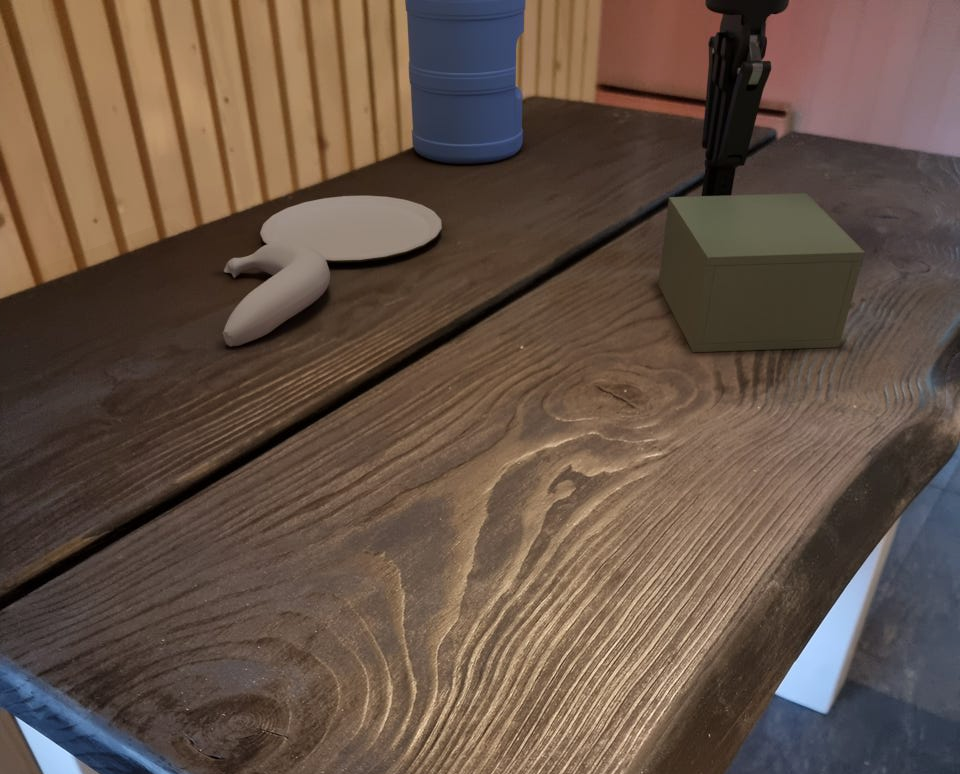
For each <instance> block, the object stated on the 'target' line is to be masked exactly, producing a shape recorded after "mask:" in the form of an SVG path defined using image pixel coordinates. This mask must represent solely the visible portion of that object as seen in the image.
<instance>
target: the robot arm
mask: <svg viewBox="0 0 960 774" xmlns="http://www.w3.org/2000/svg"><path fill="white" fill-rule="evenodd" d="M704 3H705V7H706V8H707V10H709V11H710V12H713V13H715V14H720V15H722V17H721V21H720V23H719V31H717V32H716V33H715V36H714V35H711V36H710V37H709V40H708V44H707V46H708V69H707V80H706V81H707V83H706V93H705V104H704V105H705V107H704V115H703V116H704V118H703V128H702V129H703V130H702V140H701V147H702V149H704V150H705V154H704V155H705V160H704V168H705V169H704V176H703V183H702V190H701V194H700V196H730V195H733V194H732V193H733V186H734V181H735V176H736V175H735V174H736V169H737V168H738V167H743V166H745V164H746V161H747V156H748V152H749V148H750V145H751V141H752V137H753V133H754V128H755V124H756V122H757V121H756V120H757V117H758V113H759V109H760V106H761V101H762V97H763V93H764V90H765V87H766V85H767V82H768V79H769V77H770V74H771V71H772V61H770V60H763V59H764V58H765V56H766V52H767V46H768V38H767V36H766V31H767V30H766V28H767V19H768V18H769V17H770V16H771V15H778V14H781V13H783V12H785V11H786V10H787V9H788V6H789V4H790V0H704Z"/></svg>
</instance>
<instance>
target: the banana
mask: <svg viewBox="0 0 960 774" xmlns="http://www.w3.org/2000/svg"><path fill="white" fill-rule="evenodd" d="M254 269H257V270H260V271H263V272H264V273H267V274H269V275H271V277H270V278H268V279H266V280H265V281H263V282H262V283H261V284H260V285H258V286H257V287H255V288H254V289H253V290H252V291H250V292H249V293H248V294H247V295H246V296H245V297H244V298H243V299H242V300H240V302H239V303H238V304H237V306H236V307H235V308H234V309H233V310H232V312H231V314H230V315H229V317H228V318H227V322H226V323H225V326H224V329H223V331H222V332H221V333H222V336H223V340H224V342H225V344H226V345H227V346H229V347H230V348H231V347H238V346H242V345H244V344H247V343H250V342H253V341H256V340H257V339H260V338H262V337H264V336H266V335H268V334H270V333H271V332H272V331H274V330H275V329H277V328H278V327H280V326H281V325H282V324H284V323H285V322H287V320H289V319H291V318H293V317H294V316H296V315H298V314H299V313H300V312H302V311H303V310H305V309H307V308H308V307H309V306H311V305H312V304H314V303H315V302H316V301H317V300H318V299H320V298H321V297H322V296H323V295H324V293H326V290H327V289H328V287H329V285H330V280H331V272H330V268H329V265H328V262H326V260H325V258H324V257H323V256H322V255H321V253H319V252H318V251H317V250H315V249H313V248H311V247H309V246H307V245H304V244H302V243H298V242H294V241H277V242H273V243H270V244H267V245H266V244H265V245H263V246H261V247H260V248H259V249H257V250H256V251H254V252H253V253H252V254H250V255H246V256H242V257H233V258H230V259H229V260H228V261H227V262H226V264H225V266H224V269H223V272H224V273H225V274H231V275H232V277H233V279H236V277H237V276H239V275H241V273H244V272H246V271H249V270H254Z"/></svg>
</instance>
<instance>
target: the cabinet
mask: <svg viewBox="0 0 960 774" xmlns="http://www.w3.org/2000/svg"><path fill="white" fill-rule="evenodd" d="M864 256H865V250H863V249H862V248H861V247H860V246H859V245H858V244H857V242H856V241H855V240H853V239H852V237H850V236H849V234H848V233H847V232H846V231H845V230H844V229H842V228H841V227H840V225H839V224H837V222H836V221H835V220H833V218H831V216H830V215H829V214H828V213H827V212H826V211H824V209H823V208H822V207H821V206H820V205H819V204H817V202H816V201H815V200H814V199H813V198H812V196H810V195H809V194H807V192H805V193H802V192H801V193H800V192H799V193H769V194H767V193H766V194H734V195H733V194H731V195H730V196H701V195H699V196H698V195H697V196H669V197H668V202H667V211H666V219H665V226H664V235H663V241H662V250H661V256H660V257H661V258H660V259H661V260H660V267H659V273H658V274H659V275H658V283H657V285H658V287H659V290H660V291H661V293H662V295H663V298H664V299H665V301H666V303H667V305H668V307H669V309H670V311H671V313H672V315H673V317H674V319H675V321H676V323H677V324H678V326H679V328H680V330H681V332H682V335H683V336H684V338H685V340H686V342H687V344H688V346H689V348H690V350H691V352H692V353H712V352H714V353H715V352H716V353H717V352H743V351H771V350H772V351H773V350H774V351H775V350H797V349H798V350H799V349H801V350H802V349H824V348H825V349H826V348H827V349H828V348H839V347H840V345H841V341H842V338H843V334H844V331H845V327H846V323H847V320H848V315H849V311H850V308H851V305H852V301H853V297H854V293H855V289H856V286H857V282H858V279H859V274H860V271H861V267H862V265H863V264H862V263H863V260H864Z"/></svg>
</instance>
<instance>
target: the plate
mask: <svg viewBox="0 0 960 774" xmlns="http://www.w3.org/2000/svg"><path fill="white" fill-rule="evenodd" d="M442 225H443V224H442V218H440V217H439V216H438V215H437V213H436V212H435V211H434V210H433V209H430V208H429V207H426V206H425V205H423V204H421V203H417V202H414V201H411V200H407V199H402V198H397V197H390V196H377V195H342V196H333V197H324V198H320V199H314V200H310V201H304V202H301V203H299V204H295V205H292V206H289V207H286V208H284V209H282V210H280V211H278V212H277V213H275V214H273V215H271V216H270V217H269V218H268V219H267V220H265V222H263V224H262V226H261V229H260V232H259V234H260V237H261V240H262V242H263V244H265V245H267V244H270V243H273V242H277V241H294V242H298V243H302V244H304V245H307V246H309V247H311V248H313V249H315V250H317V251H318V252H319V253H321V255H322V256H323V257H324V258H325V260H326V262H327V264H328V263H330V264H345V263H346V264H347V263H348V264H349V263H353V264H354V263H365V262H373V261H374V262H375V261H381V260H388V259H392V258H395V257H400V256H403V255H407V254H410V253H412V252H414V251H417V250H419V249H423V248H424V247H426V246H427V245H429V244H430V243H431V242H433V241H435V240H436V239H437V237H438V236H439V234H440V233H441V231H442V230H443V226H442Z"/></svg>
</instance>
